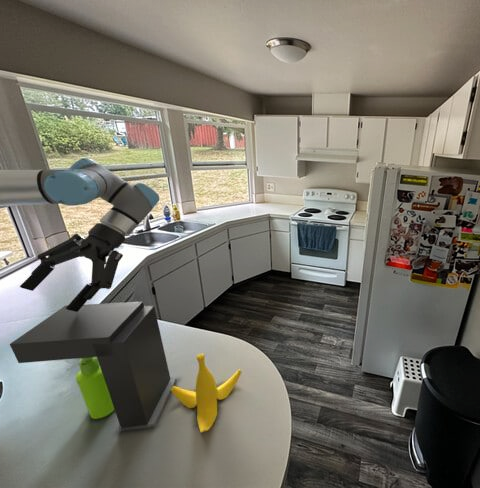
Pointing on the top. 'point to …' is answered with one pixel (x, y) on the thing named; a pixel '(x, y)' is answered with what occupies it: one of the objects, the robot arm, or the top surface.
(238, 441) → the top surface
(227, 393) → the banana peel
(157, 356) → the coffee maker
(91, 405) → the soap dispenser
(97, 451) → the top surface
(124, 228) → the robot arm
